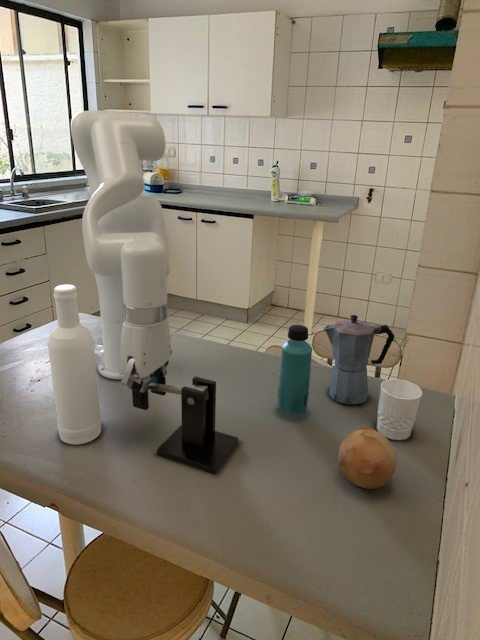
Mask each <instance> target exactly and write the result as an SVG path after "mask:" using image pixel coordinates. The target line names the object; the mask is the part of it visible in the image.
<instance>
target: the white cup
mask: <svg viewBox="0 0 480 640" xmlns="http://www.w3.org/2000/svg"><path fill="white" fill-rule="evenodd" d="M422 396H423V390H422V388H420V386H419V385H417V384H416V383H413V382H411V381H408V380H405V379H401V378H389V379H385V380H383V381H382V382H381V383H380V388H379V396H378V397H379V398H378V406H377V416H376V417H377V421H376V431H378V432H379V433H381V434H382V435H384V436H385V437H386V438H387V439H388V440H389V439H390V440H392V441H404V440H407V439H409V438H410V437H411V434H412V430H413V427H414V424H415V422H416V418H417V415H418V411H419V408H420V404H421V400H422Z"/></svg>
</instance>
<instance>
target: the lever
mask: <svg viewBox="0 0 480 640" xmlns="http://www.w3.org/2000/svg"><path fill="white" fill-rule="evenodd" d="M182 387H183V386H177V385H176V386H175V385H171V384H166V385H164V384H158V378H157V377H152V378H151V379H150V378H149V379H147V384H146V390H148V391H149V390H150V391H151V390H155V391H161V392H166V394H167V393H169V394H173V395H180V396H181V388H182ZM190 388H193V389H197V390H200V391H204V392H206V400H207V399H208V398H209V392H208V386H203V385H196V384H194V385H193V386H191V387H190Z"/></svg>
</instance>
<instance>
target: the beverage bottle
mask: <svg viewBox="0 0 480 640" xmlns="http://www.w3.org/2000/svg"><path fill="white" fill-rule="evenodd" d="M287 338H288V340H287V341H285V342H284V343H283V344H282V345H281V358H280V369H279V377H278V378H279V379H278V380H279V382H278V391H277V397H278V398H277V405H278V408H279V409H280V410H281V411H283V413H285V414H289V415H299V414H300V415H301V414H303V413H304V412H306V410H307V409H308V404H309V398H310V397H309V396H310V382H311V371H312V368H311V367H312V355H313V354H312V353H313V347H312V345H311V344H310V343H309V342H308V341H307V340H308V339H309V328H308V327H307V326H306V325H302V324H293V325H291V326H288V332H287Z"/></svg>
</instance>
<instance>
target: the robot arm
mask: <svg viewBox="0 0 480 640" xmlns="http://www.w3.org/2000/svg"><path fill="white" fill-rule="evenodd" d="M70 135H71V139H72V144H73V147H74V151H75V154H76V156H77V158H78V161H79V162H80V164H81V166H82V168H83V171H84V173H85V176H86V179H87V182H88V188H89V190H88V191H89V197H90V198H89V199H88V201H87V203H86V205H85V208H84V210H83V213H82V219H81V221H82V222H81V230H82V238H83V246H84V252H85V258H86V261H87V265H88V267H89V269H90V271H91V272H92V273H93V274H94V278H95V282H96V287H97V292H98V293H97V294H98V302H99V315H100V326H101V327H100V328H101V337H102V344H101V345H100V344H96V345H95V346H94V352H95V357H98V358H100V362H99V363H98V365H97V369H98V374H100V375H101V376H103V377H104V378H106V379H107V378H108V379H111V380H120V383H121V385H122V386H125V387H127V388H128V389H129V390H131V398H132V407H134V408H136V409H140V410H143V411H147V410H149V409H150V403H149V402H150V401H149V390H146V384H147V381H148V376H149V380H150V379H151V378H152V377H157V378H158V384H164V385H167V381H166V376H167V374H168V368H167V367H168V366H169V363H170V362H169V360H170V358H171V356H172V355H173V354H172V353H173V350H172V347H171V346H172V345H171V330H170V324H169V317H168V313H169V312H168V279H167V278H168V277H169V274H170V272H171V271H170V270H171V259H170V252H169V245H168V238H167V236H168V235H167V230H166V223H165V221H166V220H165V216H164V211H163V207H162V204H161V202H160V201H159V200H158V199H157V198H156V197H155V196H152V195H142V194H143V192H144V191H145V185H146V184H145V179H144V174H143V170H142V169H143V168H142V165H141V161H148V162H149V161H151V162H157V161H160V160H161V159H162V158H163V157H164V156H165V152H166V135H165V132H164V129H163V127H162V124H161V122H160V121H159V120H158V119H157V118H156V117H154V116H153V115H150V114H148V113H144V112H132V111H131V112H130V111H114V110H100V109H99V110H97V109H96V110H83V111H79V112H77V113H76V114H74V115H73V116H72V118H71V121H70ZM137 378H138V379H140V382H138V381H137V380H138V379H137ZM150 393H153V394H156V395H160V396H163V397H164V396H165V395H166V394H167V392H161V391H155V390H150Z"/></svg>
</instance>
